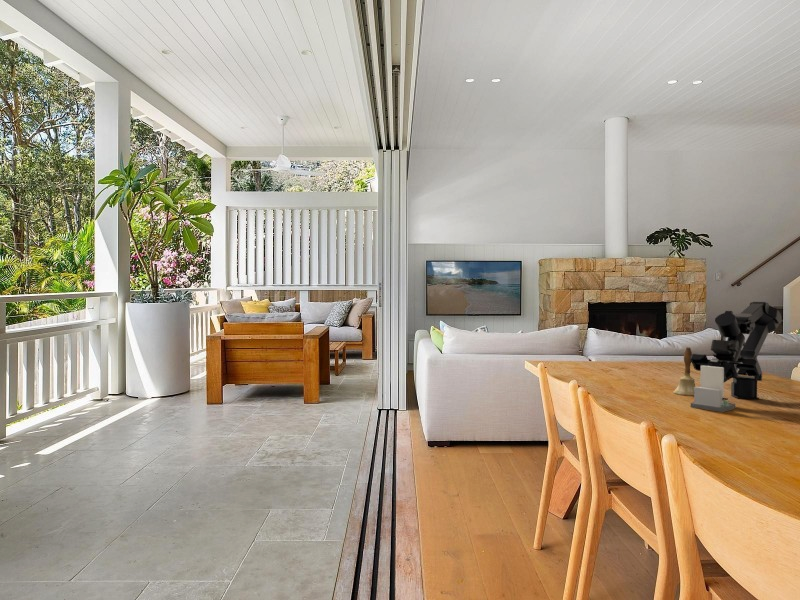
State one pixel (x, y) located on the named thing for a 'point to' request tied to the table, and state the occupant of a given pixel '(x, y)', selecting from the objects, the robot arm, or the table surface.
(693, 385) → the hand bell
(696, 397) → the gauge base
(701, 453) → the table surface
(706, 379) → the cream block
